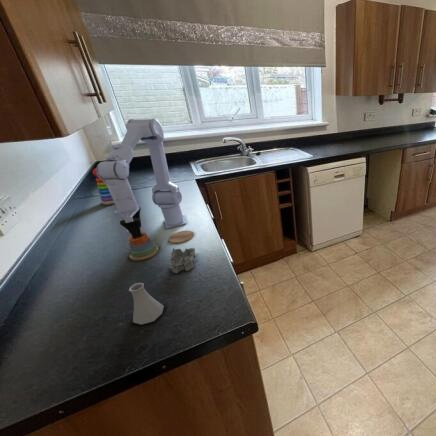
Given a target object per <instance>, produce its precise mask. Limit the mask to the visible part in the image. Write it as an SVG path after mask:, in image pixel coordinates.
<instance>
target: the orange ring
mask: <svg viewBox="0 0 436 436" xmlns="http://www.w3.org/2000/svg"><path fill="white" fill-rule="evenodd" d="M148 237H149V236H148V234H147V232H142V231H141V238H138V239H136V238H134V237H133V236H132V235H130V236H129V237H128V242H129V243H130V244H131V245H133V246H136V245H141V244H144V243H146V242H147V241H148Z"/></svg>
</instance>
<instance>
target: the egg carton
mask: <svg viewBox="0 0 436 436" xmlns="http://www.w3.org/2000/svg"><path fill="white" fill-rule="evenodd" d="M170 255H171V256H170V258H169V262H168V269H170V271H171V273H174V274H179V272H181V271H186V272H187V271H190V270H191V269H193V268H194V263H195V258H196V248H195V247H190V248H184V250H182V249H181V248H175V247H174V248H172V250H171V253H170Z"/></svg>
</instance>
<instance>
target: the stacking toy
mask: <svg viewBox="0 0 436 436" xmlns="http://www.w3.org/2000/svg"><path fill="white" fill-rule="evenodd" d="M96 168H97V167H95V168H94V169H93V170H92V174H93V176H94V177H96V178H95V181H96V185H97V189H98V193H99V197H100V200H101V204H102V205H105V206H109V205H115V203H114V200H113V198H112V196H111V194H110V191H109V189H108V187H107V186H106V185H105V184H104V182H103V181H102V180H101V179H100V178H99V177H98V176H97V174H96V173H97V171H96Z"/></svg>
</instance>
